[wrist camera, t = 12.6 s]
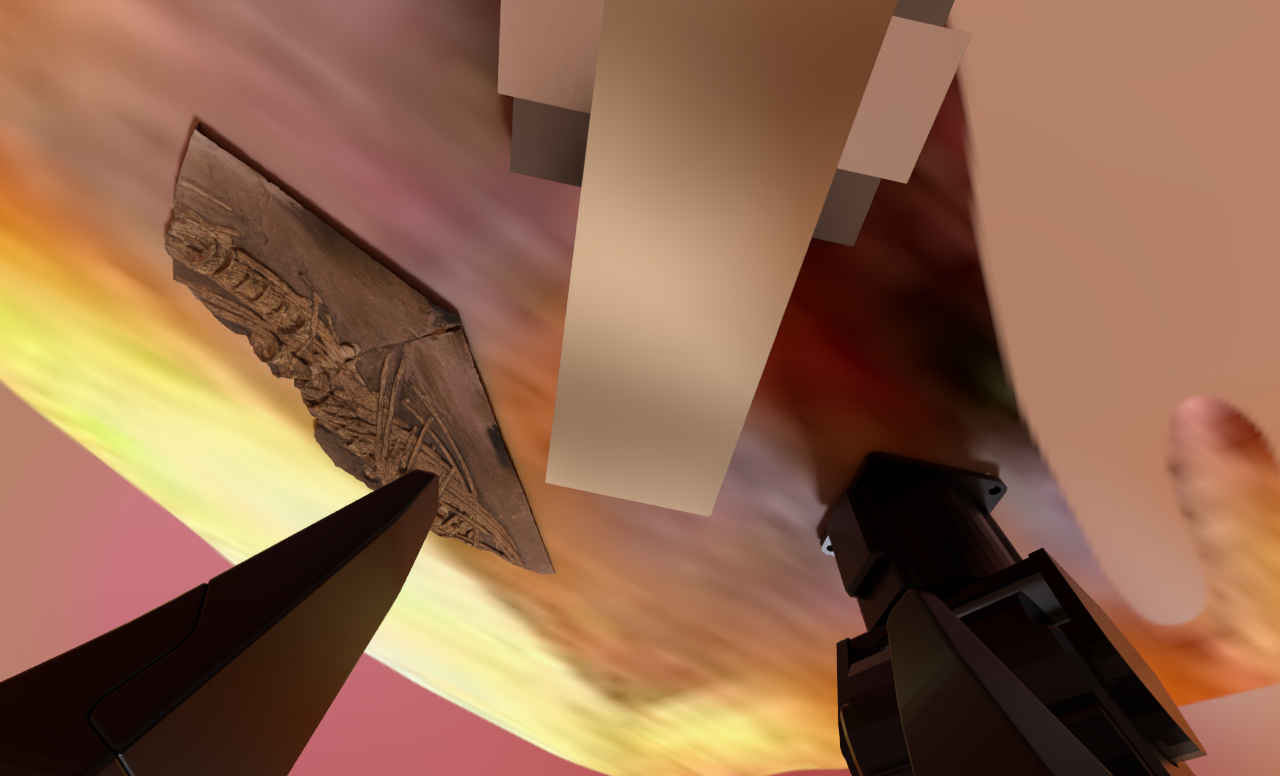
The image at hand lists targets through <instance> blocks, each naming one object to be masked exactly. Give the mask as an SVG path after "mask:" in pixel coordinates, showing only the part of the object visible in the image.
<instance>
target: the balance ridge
mask: <svg viewBox="0 0 1280 776" xmlns="http://www.w3.org/2000/svg"><path fill="white" fill-rule="evenodd" d="M604 1H605V0H501V14H500V41H499V68H498V93H499V94H504V95H508V96H513V97H514V102H513V121H512V140H511V160H510V172H515V173H519V174H524V175H528V176H533V177H538V178H542V179H547V180H551V181H556V182H560V183H565V184H570V185H574V186H579V187H582V180H583V172H584V164H585V156H586V148H587V140H588V131H589V123H590V115H591V107H592V99H593V91H594V83H595V74H596V66H597V58H598V50H599V42H600V34H601V25H602V17H603V9H604ZM953 3H954V0H898V2H897V4H896V7H895V10H894V13H893V15H892V18H891V21H890V24H889V26H888V29H887V32H886V35H885V37H884V40H883V43H882V46H881V48H880V51H879V54H878V57H877V59H876V62H875V65H874V68H873V70H872V73H871V76H870V79H869V81H868V84H867V87H866V90H865V92H864V95H863V98H862V101H861V103H860V106H859V109H858V112H857V114H856V117H855V120H854V123H853V125H852V128H851V131H850V134H849V136H848V139H847V142H846V145H845V147H844V150H843V153H842V156H841V158H840V161H839V164H838V167H837V169H836V172H835V175H834V178H833V180H832V183H831V186H830V189H829V191H828V194H827V197H826V200H825V202H824V205H823V208H822V210H821V213H820V216H819V219H818V221H817V224H816V227H815V230H814V232H813V235H812V238H817V239H821V240H826V241H830V242H835V243H840V244H844V245H849V246H854V244H855V242H856V239H857V237H858V234H859V232H860V229H861V227H862V225H863V222H864V220H865V217H866V215H867V212H868V210H869V207H870V205H871V203H872V200H873V198H874V195H875V193H876V190H877V188H878V186H879V183H880V181H881V178H883V179H888V180H892V181H897V182H901V183H906V184H907V182H908V180H909V178H910V175H911V173H912V171H913V168H914V166H915V164H916V161H917V159H918V157H919V155H920V152H921V150H922V148H923V145H924V143H925V141H926V139H927V136H928V134H929V132H930V129H931V127H932V125H933V123H934V120H935V118H936V116H937V113H938V111H939V109H940V107H941V104H942V102H943V100H944V97H945V95H946V93H947V91H948V88H949V86H950V84H951V81H952V79H953V77H954V75H955V72H956V70H957V68H958V65H959V63H960V61H961V59H962V56H963V54H964V52H965V49H966V47H967V45H968V43H969V40H970V38H971V36H972V34H970V33H966V32H962V31H957V30H953V29H949V28H944V25H945V22H946V20H947V17H948V15H949V13H950V10H951V8H952V5H953Z"/></svg>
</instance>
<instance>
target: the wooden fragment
mask: <svg viewBox="0 0 1280 776" xmlns="http://www.w3.org/2000/svg"><path fill="white" fill-rule="evenodd" d="M199 124H200V122H199V123H198V125H197V126H196V127H195V129H194V132H193V134H192V136H191V139H190V143H189V146H188V151H187V153H186V156H185V159H184V161H183V164H182V168H181V171H180V175H179V177H178V180H177V183H176V187H175V192H176V196H175V199H174V206H175V207H174V214H175V218H174V219H173V221H172V222H171V229H170V230H169V231H168V234H167V235H166V236H165V237H164V238H165V249H166V251H167V253H168V255H170V256H171V257H172V258H174V265H173V279H174V280H176V281H177V282H179V283H183V284H185V285H187V286H188V288H189V289H190V290H191V292H192V293H193V294H194V296H195V297H196V298H197V299H198V300H200V301H201V302H202V303H203V304H204V305H205V306H206V308H207V309H209V310H210V311H211V312H212V314H213V315H214V317H216V318H217V319H218V320H219V321H220V322H221V323H222V324H224V325H225V326H226V327H227V328H228V329H230V330H231V331H233V332H234V333H236V334H242V335H247V337H248V339H249V342H250V345H251V346H253V349H254V353H255V354H256V355H257V357H258V358H259V359H260V360H261V361H262V362H266V363H267V364H268V365H269V366H270V369H271V371H272V374H273V375H274V376H276V377H278V378H280V377H285V378H288V379H291V378H294V386H295V387H297V388H298V389H300V391H301V396H302V398H303V403H305V404H306V405H307V408H308V410H309V412H310V414H311V415H312V416H314V417H316V418H317V419H319V420H318V423H317V426H316V429H315V433H314V437H315V438H316V441H317V442H318V443H319V444H320V446H321V447H322V449H323V450H324V452H325V453H326V454H327V455H328V456H329V457H330V458H331V459H332V461H333V462H334V464H335V466H336V467H340V468H342V469H343V470H344V471H346V472H347V473H349V474H351V475H353V476H354V477H355V478H356V479H358V480H360V481H362V482H364V483H365V484H366V486H367V487H368V488H370V489H372V490H377V489H379V488H381V487H382V486H384V485H386V484H388V483H390V482H392V481H394V480H395V479H397V478H399V477H401V476H403V475H405V474H407V473H408V472H410V471H412V470H415V469H421V470H425V471H429V472H433V473H436V474H437V475H438V476H439V507H438V512H437V515H436V518H435V520H434V522H433V524H432V526H431V528H430V530H431V531H433V532H434V533H435V534H437V535H438V536H440V537H444V538H450V537H452V538H454V539H457V540H459V541H461V542H463V543H465V544H467V545H469V546H473V547H475V548H477V549H479V550H483V549H484V550H486V551H491V552H493V553H495V554H497V555H499V556H500V557H501V558H503V559H504V560H506V561H508V562H510V563H512V564H514V565H517V566H520V567H522V568H525V569H528V570H533V571H535V572H536V573H539V574H556V573H555V572H554V570H553V568H552V565H551V562H550V559H549V557H548V555H547V552H546V550H545V547H544V544H543V542H542V540H541V537H540V534H539V531H538V529H537V527H536V525H535V522H534V518H533V516H532V514H531V511H530V508H529V505H528V503H527V500H526V497H525V495H524V494H523V490H522V488H521V485H520V483H519V480H518V478H517V476H516V473H515V471H514V469H513V467H512V464H511V462H510V460H509V457H508V455H507V454H506V451H505V448H504V444H503V442H502V440H501V436H500V434H499V433H498V428H497V424H496V422H495V420H494V417H493V414H492V411H491V408H490V405H489V402H488V400H487V397H486V395H485V392H484V389H483V387H482V385H481V383H480V381H479V376H478V373H475V372H476V369H474V368H473V367H474V364H473V360H472V357H471V354H470V351H469V348H468V346H467V344H466V341H465V338H464V333H463V330H462V327H460V329H459V330H458V331H453V332H448V333H446V330H447V329H448V328H450V327H455V328H456V326H461V322H460V320H459V319H458V317H456V316H455V315H453V314H451V313H449V312H448V311H447V310H446V309H442V308H440V307H438V306H434V305H433V304H432V303H431V302H430V301H429V300H428V299H427V298H425V297H424V296H422V295H421V294H420V293H418V292H417V291H416V290H414V289H413V288H412V287H410V286H408V285H407V284H406V283H405V282H403V281H402V280H400V279H399V278H398V277H396V276H395V275H394V274H393V273H391V272H390V271H389V270H387V269H386V268H385V267H384V266H382V265H381V264H379V263H378V262H377V261H375V260H373V259H371V258H370V256H369V255H367V254H366V253H364V252H363V251H361V250H360V249H359V248H358V247H356V246H355V245H354V244H352V243H351V242H350V241H348V240H347V239H345V238H344V237H343V236H341V235H340V234H339V233H337V232H336V231H335V230H334V229H333V228H331V227H330V226H328V225H327V224H326V223H324V222H323V221H321V220H320V219H319V218H318V217H316V216H315V215H314V214H313V213H312V212H310V211H308V210H306V209H305V208H303V207H302V206H301V205H300V204H299V203H297V202H296V201H295V200H294V199H292V198H291V197H289V196H287V195H285V193H284V192H283V191H281V190H280V188H279V187H277V186H276V185H274V184H272V183H270V182H267V179H266V178H264V177H262V176H261V175H260V174H259V173H257V172H256V171H255V170H253V169H252V168H250V167H249V166H247V165H246V164H244V163H243V162H241V161H240V160H238V159H236V158H235V157H234V156H233V155H231V154H230V153H228V152H227V151H225V150H223V149H221V148H219V147H218V146H217V145H216V144H215V143H213V142H212V141H210V140H209V139H208V138H206V137H205V136H203V135H202V134H200V133H199V132H198V129H199Z"/></svg>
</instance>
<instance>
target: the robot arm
mask: <svg viewBox="0 0 1280 776" xmlns="http://www.w3.org/2000/svg"><path fill="white" fill-rule="evenodd" d="M876 462H880V463H879V464H877V465H873V464H874V463H876ZM992 487H994V488H992ZM991 488H992V489H991ZM1006 491H1007V486H1006V485H1005V484H1004V483H1003V482H1002V480H1001V479H1000V478H998V477H995V476H990V475H985V474H980V473H976V472H971V471H966V470H961V469H957V468H952V467H947V466H943V465H938V464H933V463H928V462H924V461H919V460H914V459H909V458H905V457H900V456H895V455H890V454H886V453H881V452H874V453H870V454H869V455H867V456H866V457H865V459H864V461H863V462H862V464H861V466H860V468H859V470H858V472H857V474H856V475H855V477H854V479H853V481H852V483H851V485H850V487H849V488H848V489H846V490H845V491H844V492H843V494H842V496H841V498H840V500H839V502H838V504H837V506H836V507H835V509H834V511H833V513H832V515H831V517H830V519H829V520H828V522H827V524H826V531H825V533H824V535H823V537H822V538H821V540H820V545H821V549H822V552H824V553H825V554H827V555H832V556H835V558H836V561H837V565H838V568H839V571H840V574H841V578H842V581H843V584H844V587H845V590H846V592H847V594H848V595H849V596H850V597H853V598H857V601H858V604H859V607H860V610H861V613H862V616H863V619H864V623H865V626H866V629H867V632H865V633H863V634H861V635H859V636H857V637H854V638H852V639H850V638H846V639H844V640H842V641H840V642H838V643H837V688H838V726H839V736H840V748H841V752H842V754H843V756H844V758H845V760H846V762H847V765H848V768H849V770H850V772H851V775H852V776H1195V774H1194V773H1193V772H1192V770H1191V769H1190V768H1189V767H1188V765H1187V764H1186V763H1185V761H1186V760H1190V759H1193V758H1198V757H1201V756H1205V755H1207V753H1206V751H1205V749H1204V748H1203V746H1202V745H1201V743H1200V741H1199V740H1198V738H1197V737H1196V735H1195V734H1194V732H1193V731H1192V729H1191V728H1190V726H1189V725H1188V723H1187V722H1186V720H1185V719H1184V717H1183V715H1182V714H1181V713H1180V711H1179V709H1178V708H1177V706H1176V705H1175V703H1174V702H1173V700H1172V699H1171V697H1170V696H1169V694H1168V693H1167V691H1166V690H1165V688H1164V686H1163V685H1162V683H1161V682H1160V680H1159V679H1158V677H1157V676H1156V674H1155V673H1154V672H1153V670H1152V669H1151V668H1150V667H1149V665H1148V664H1147V663H1146V662H1145V661H1144V659H1143V658H1142V657H1141V656H1140V655H1139V653H1138V652H1137V651H1136V650H1135V648H1134V647H1133V646H1132V645H1131V644H1130V642H1129V641H1128V640H1127V639H1126V638H1125V636H1124V635H1123V634H1122V633H1121V631H1120V630H1119V629H1118V628H1117V627H1116V625H1115V624H1114V623H1113V622H1112V621H1111V619H1110V618H1109V617H1108V616H1107V615H1106V613H1105V612H1104V611H1103V610H1102V609H1101V608H1100V607H1099V606H1098V605H1097V604H1096V603H1095V602H1094V600H1093V599H1092V598H1091V597H1090V596H1089V595H1088V594H1087V593H1086V592H1085V591H1084V590H1083V589H1082V588H1081V587H1080V586H1079V585H1078V584H1077V583H1076V582H1075V581H1074V579H1073V578H1072V577H1071V576H1070V575H1069V574H1068V573H1067V572H1066V571H1065V570H1064V569H1063V568H1062V567H1061V566H1060V565H1059V564H1058V563H1057V562H1056V561H1055V560H1054V558H1053V557H1052V556H1051V555H1050V554H1049V553H1048V552H1047V551H1046V550H1045V549H1044V548H1041V549H1039V550H1037V551H1034V552H1032V553H1030V554H1028V555H1029V557H1028V558H1026V559H1024V560H1023V559H1022V558H1021V556H1020V555H1019V554H1018V552H1017V551H1016V549H1015V548H1014V547H1013V545H1012V544H1011V542H1010V541H1009V540H1008V538H1007V537H1006V535H1005V534H1004V533H1003V531H1002V530H1001V528H1000V527H999V526H998V524H997V523H996V521H995V520H994V519H993V517H992V516H991V514H990V513H991V511H992V510H993V509H994V507H995V506H996V505H997V503H998V502H999V501H1000V499H1001V498H1002V497H1003V495H1004V494H1005V493H1006ZM438 507H439V476H438V475H437V474H436V473H433V472H429V471H425V470H421V469H415V470H412V471H410V472H408V473H407V474H405V475H403V476H401V477H399V478H397V479H395V480H394V481H392V482H390V483H388V484H386V485H384V486H382V487H381V488H379V489H377V490H375V491H373V492H371V493H369V494H368V495H366V496H364V497H362V498H360V499H358V500H356V501H355V502H353V503H351V504H349V505H347V506H345V507H344V508H342V509H340V510H338V511H336V512H334V513H332V514H331V515H329V516H327V517H325V518H323V519H321V520H319V521H318V522H316V523H314V524H312V525H310V526H308V527H306V528H305V529H303V530H301V531H299V532H297V533H295V534H293V535H292V536H290V537H288V538H286V539H284V540H282V541H280V542H279V543H277V544H275V545H273V546H271V547H269V548H267V549H266V550H264V551H262V552H260V553H258V554H256V555H254V556H253V557H251V558H249V559H247V560H245V561H243V562H241V563H240V564H238V565H236V566H234V567H232V568H231V569H229V570H227V571H225V572H223V573H221V574H219V575H218V576H216V577H214V578H212V579H210V581H209V582H208V584H207V583H203V584H200V585H199V586H197V587H195V588H193V589H191V590H189V591H187V592H185V593H184V594H182V595H180V596H178V597H176V598H174V599H172V600H170V601H169V602H167V603H165V604H163V605H161V606H159V607H157V608H155V609H153V610H151V611H149V612H148V613H145V614H144V615H142V616H140V617H138V618H136V619H134V620H132V621H130V622H128V623H126V624H124V625H122V626H120V627H117V628H115V629H113V630H111V631H109V632H107V633H105V634H103V635H101V636H99V637H97V638H94V639H92V640H90V641H88V642H86V643H84V644H82V645H80V646H78V647H76V648H73V649H71V650H69V651H67V652H65V653H63V654H61V655H58V656H56V657H54V658H52V659H50V660H48V661H45V662H43V663H41V664H39V665H37V666H34V667H33V668H30V669H28V670H26V671H24V672H22V673H19V674H17V675H15V676H13V677H11V678H9V679H6V680H4V681H2V682H0V776H287V775H288V774H289V772H290V771H291V769H292V767H293V766H294V764H295V762H296V761H297V759H298V757H299V756H300V754H301V753H302V751H303V749H304V748H305V746H306V745H307V743H308V741H309V740H310V738H311V736H312V735H313V733H314V732H315V730H316V728H317V727H318V725H319V724H320V722H321V720H322V719H323V717H324V715H325V714H326V712H327V710H328V709H329V707H330V706H331V704H332V702H333V701H334V699H335V698H336V696H337V694H338V693H339V691H340V689H341V688H342V686H343V685H344V683H345V681H346V680H347V678H348V676H349V675H350V673H351V672H352V670H353V668H354V667H355V665H356V663H357V662H358V660H359V659H360V657H361V655H362V654H363V652H364V650H365V649H366V647H367V646H368V644H369V642H370V641H371V639H372V638H373V636H374V634H375V633H376V631H377V629H378V628H379V626H380V625H381V623H382V621H383V620H384V618H385V616H386V615H387V613H388V612H389V610H390V608H391V607H392V605H393V603H394V602H395V600H396V598H397V596H398V595H399V593H400V591H401V589H402V587H403V585H404V583H405V581H406V579H407V577H408V575H409V572H410V570H411V568H412V566H413V564H414V562H415V560H416V558H417V556H418V554H419V551H420V549H421V547H422V545H423V543H424V541H425V539H426V537H427V535H428V532H429V530H430V528H431V526H432V524H433V522H434V520H435V518H436V515H437V512H438ZM829 545H831V546H829Z"/></svg>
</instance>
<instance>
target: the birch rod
mask: <svg viewBox="0 0 1280 776" xmlns="http://www.w3.org/2000/svg"><path fill="white" fill-rule="evenodd" d="M897 2H898V0H605V1H604V9H603V17H602V25H601V34H600V42H599V50H598V58H597V66H596V74H595V83H594V91H593V99H592V107H591V115H590V123H589V131H588V140H587V148H586V156H585V164H584V172H583V180H582V189H581V197H580V205H579V213H578V221H577V229H576V237H575V246H574V254H573V262H572V270H571V278H570V286H569V295H568V303H567V311H566V319H565V327H564V335H563V343H562V352H561V360H560V368H559V376H558V384H557V392H556V401H555V409H554V417H553V425H552V433H551V441H550V449H549V458H548V466H547V474H546V482H545V483H549V484H554V485H559V486H564V487H569V488H574V489H578V490H583V491H588V492H593V493H598V494H602V495H607V496H612V497H617V498H622V499H627V500H631V501H636V502H641V503H646V504H651V505H655V506H660V507H665V508H670V509H675V510H680V511H684V512H689V513H694V514H699V515H704V516H708V517H710V515H711V513H712V510H713V507H714V504H715V502H716V499H717V496H718V493H719V491H720V488H721V485H722V482H723V480H724V477H725V474H726V471H727V469H728V466H729V463H730V460H731V458H732V455H733V452H734V449H735V447H736V444H737V441H738V438H739V436H740V433H741V430H742V427H743V425H744V422H745V419H746V416H747V414H748V411H749V408H750V406H751V403H752V400H753V397H754V395H755V392H756V389H757V386H758V384H759V381H760V378H761V375H762V373H763V370H764V367H765V364H766V362H767V359H768V356H769V353H770V351H771V348H772V345H773V342H774V340H775V337H776V334H777V331H778V329H779V326H780V323H781V320H782V318H783V315H784V312H785V309H786V307H787V304H788V301H789V298H790V296H791V293H792V290H793V287H794V285H795V282H796V279H797V276H798V274H799V271H800V268H801V265H802V263H803V260H804V257H805V254H806V252H807V249H808V246H809V243H810V241H811V238H812V235H813V232H814V230H815V227H816V224H817V221H818V219H819V216H820V213H821V210H822V208H823V205H824V202H825V200H826V197H827V194H828V191H829V189H830V186H831V183H832V180H833V178H834V175H835V172H836V169H837V167H838V164H839V161H840V158H841V156H842V153H843V150H844V147H845V145H846V142H847V139H848V136H849V134H850V131H851V128H852V125H853V123H854V120H855V117H856V114H857V112H858V109H859V106H860V103H861V101H862V98H863V95H864V92H865V90H866V87H867V84H868V81H869V79H870V76H871V73H872V70H873V68H874V65H875V62H876V59H877V57H878V54H879V51H880V48H881V46H882V43H883V40H884V37H885V35H886V32H887V29H888V26H889V24H890V21H891V18H892V15H893V13H894V10H895V7H896V4H897Z"/></svg>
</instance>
